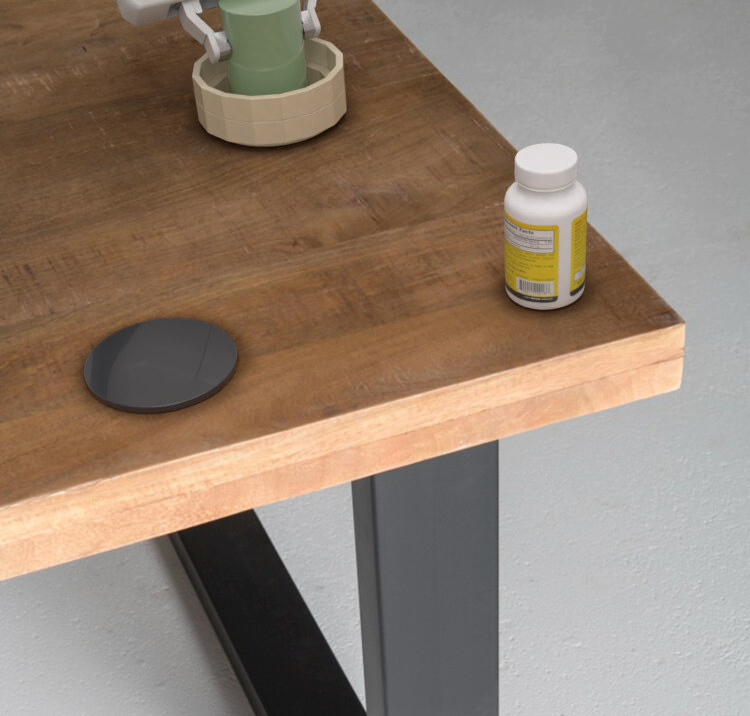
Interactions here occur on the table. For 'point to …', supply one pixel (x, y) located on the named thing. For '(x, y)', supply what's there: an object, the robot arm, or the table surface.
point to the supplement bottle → (545, 228)
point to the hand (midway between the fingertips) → (267, 47)
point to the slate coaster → (160, 365)
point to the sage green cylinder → (264, 46)
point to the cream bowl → (273, 101)
